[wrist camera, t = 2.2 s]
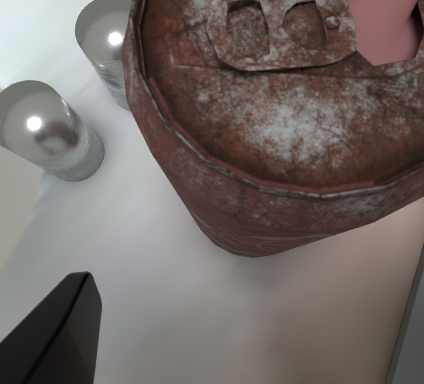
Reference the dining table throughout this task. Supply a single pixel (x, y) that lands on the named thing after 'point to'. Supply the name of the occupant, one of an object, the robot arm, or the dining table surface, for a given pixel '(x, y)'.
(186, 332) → the dining table surface
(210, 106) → the can
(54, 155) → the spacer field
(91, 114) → the dining table surface
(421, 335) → the mat
